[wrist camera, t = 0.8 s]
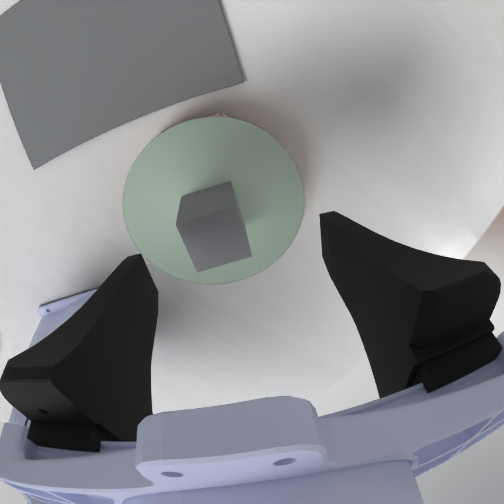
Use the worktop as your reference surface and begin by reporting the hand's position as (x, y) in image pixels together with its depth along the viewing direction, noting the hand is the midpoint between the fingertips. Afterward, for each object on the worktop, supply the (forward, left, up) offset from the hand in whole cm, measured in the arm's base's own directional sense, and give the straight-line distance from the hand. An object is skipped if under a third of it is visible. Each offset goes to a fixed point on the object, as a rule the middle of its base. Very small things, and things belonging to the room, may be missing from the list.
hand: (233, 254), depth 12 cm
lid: (-1, -1, -8) cm, 8 cm away
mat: (-5, +12, -11) cm, 17 cm away
